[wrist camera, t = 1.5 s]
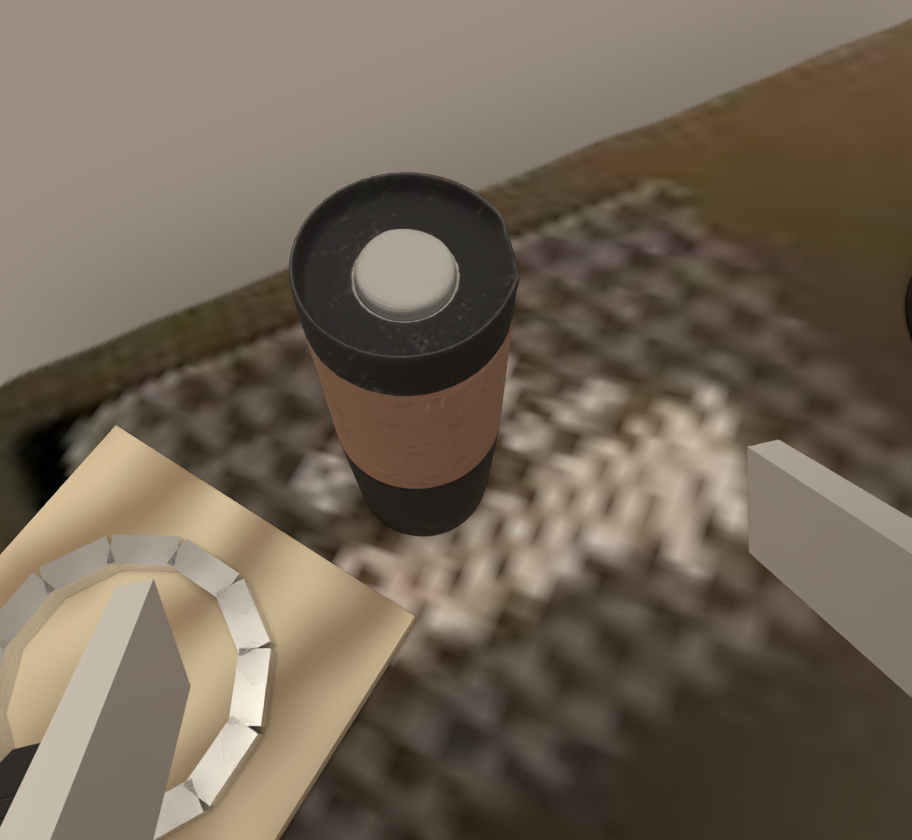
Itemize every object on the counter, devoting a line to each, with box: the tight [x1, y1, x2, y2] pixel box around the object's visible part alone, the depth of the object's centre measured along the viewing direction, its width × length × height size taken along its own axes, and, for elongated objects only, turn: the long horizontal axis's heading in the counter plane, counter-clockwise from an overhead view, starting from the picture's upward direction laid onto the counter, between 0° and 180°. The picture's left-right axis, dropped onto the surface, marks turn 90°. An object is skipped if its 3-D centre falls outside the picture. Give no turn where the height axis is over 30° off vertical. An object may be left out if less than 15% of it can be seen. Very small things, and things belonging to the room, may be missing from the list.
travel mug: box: [289, 172, 519, 536], centre depth 33 cm, size 8×8×20 cm
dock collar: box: [0, 534, 278, 840], centre depth 35 cm, size 14×14×2 cm
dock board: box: [0, 426, 416, 840], centre depth 36 cm, size 20×20×2 cm
